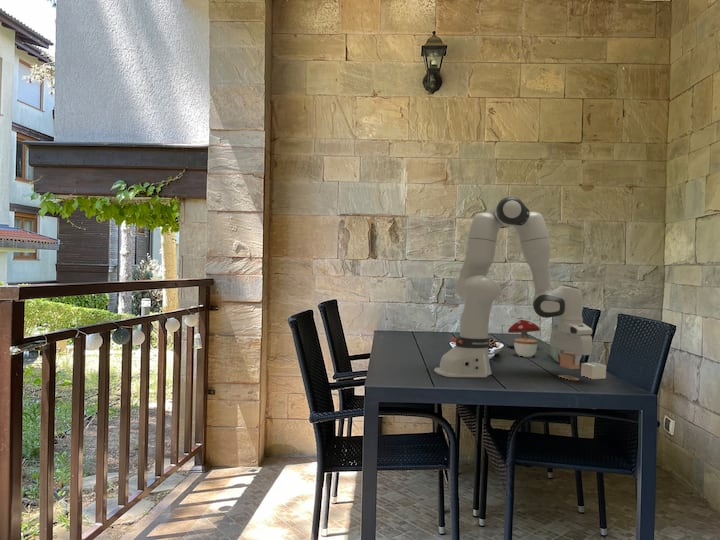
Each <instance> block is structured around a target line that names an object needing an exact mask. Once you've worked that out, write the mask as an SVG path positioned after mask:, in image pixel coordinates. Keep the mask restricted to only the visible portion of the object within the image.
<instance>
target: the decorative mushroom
mask: <svg viewBox="0 0 720 540" xmlns="http://www.w3.org/2000/svg"><path fill="white" fill-rule="evenodd" d="M539 331H541V328H540V327H539V326H538V325H537V324H535V323H534V322H532V321H530V320H526V319H520V320H518V321H516V322H515V323H513V324H512V325H511V326H510V327H509V328H508V331H507V333H509V334H518V333H519V334H521V339H525V337H527V339H530V337H529V334H528V332H529V333H530V332H531V333H532V332H539Z"/></svg>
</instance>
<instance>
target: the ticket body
mask: <svg viewBox="0 0 720 540" xmlns="http://www.w3.org/2000/svg"><path fill="white" fill-rule="evenodd" d="M580 366H581V368H580V369H581V370H580V372H581V373H580V376H581V377H583V376H585V377H584V378H586V377H588V378H587V379H590V378H591V379H590V380H601V379H603V380H605V379H606V378H607V365H605V364H601V363H599V362H582V363H581V365H580Z"/></svg>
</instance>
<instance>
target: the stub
mask: <svg viewBox="0 0 720 540" xmlns="http://www.w3.org/2000/svg"><path fill="white" fill-rule="evenodd" d="M575 357H576V356H575V354H571V353H560V363H559V367H562V368H565V369H569V370H579V369H580V364H579V365H574V364H573V360H575Z"/></svg>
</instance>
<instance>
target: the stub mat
mask: <svg viewBox="0 0 720 540" xmlns="http://www.w3.org/2000/svg"><path fill="white" fill-rule="evenodd" d="M558 376H559V377H558V378H560V377H562V378H561V379H563V378H565V379H564V380H566V379H568V380H567V381H569V380H571V381H580V380H579V379H580V378H577V377H574V376H572V375H568V374H564V375H563V374H560V375H558Z"/></svg>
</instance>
